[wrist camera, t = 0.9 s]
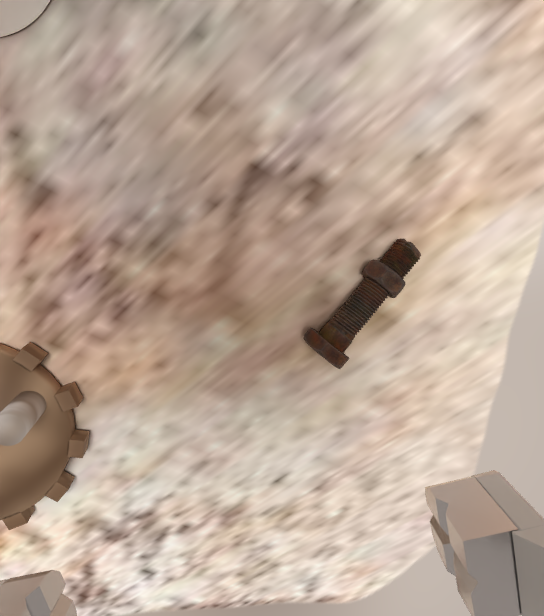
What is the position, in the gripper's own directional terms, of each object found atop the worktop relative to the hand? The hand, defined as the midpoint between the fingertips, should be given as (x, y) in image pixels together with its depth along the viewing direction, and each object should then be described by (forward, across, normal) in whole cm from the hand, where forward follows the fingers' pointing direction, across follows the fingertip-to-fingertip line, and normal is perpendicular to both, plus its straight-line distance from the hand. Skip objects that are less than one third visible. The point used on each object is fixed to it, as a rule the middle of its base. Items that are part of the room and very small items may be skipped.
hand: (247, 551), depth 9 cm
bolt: (+38, -11, +4) cm, 40 cm away
